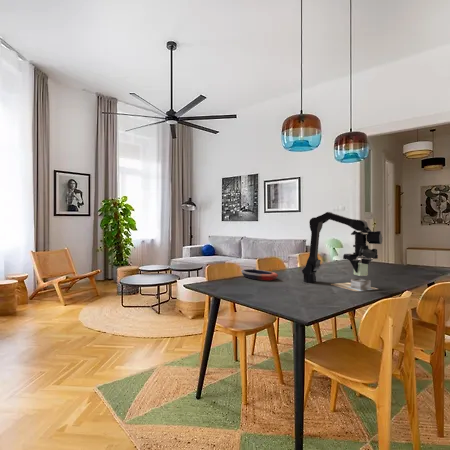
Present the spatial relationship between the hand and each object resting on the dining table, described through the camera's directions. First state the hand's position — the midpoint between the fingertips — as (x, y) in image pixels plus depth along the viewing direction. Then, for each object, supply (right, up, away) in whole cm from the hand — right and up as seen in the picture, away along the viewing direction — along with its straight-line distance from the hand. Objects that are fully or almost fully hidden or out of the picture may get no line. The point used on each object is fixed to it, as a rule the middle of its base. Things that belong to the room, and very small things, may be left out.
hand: (360, 272), depth 171 cm
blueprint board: (-2, -10, +5) cm, 11 cm away
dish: (-51, -10, +39) cm, 65 cm away
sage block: (0, -2, 0) cm, 2 cm away
